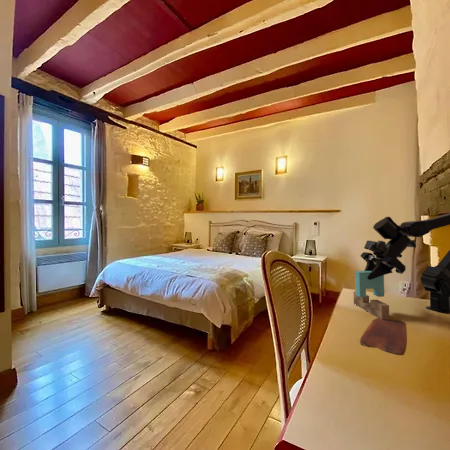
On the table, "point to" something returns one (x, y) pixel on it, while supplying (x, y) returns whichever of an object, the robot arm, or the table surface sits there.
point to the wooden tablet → (385, 336)
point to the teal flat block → (368, 284)
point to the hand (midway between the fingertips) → (365, 278)
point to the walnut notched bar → (373, 306)
